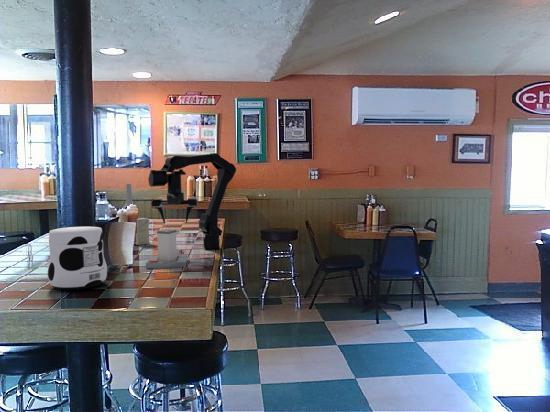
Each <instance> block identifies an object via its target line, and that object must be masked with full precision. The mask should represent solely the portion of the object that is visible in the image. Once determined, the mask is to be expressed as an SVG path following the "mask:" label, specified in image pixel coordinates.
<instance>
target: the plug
mask: <svg viewBox="0 0 550 412" xmlns="http://www.w3.org/2000/svg"><path fill="white" fill-rule="evenodd" d="M156 235H157V237H156V238H157V256H158V261H177V255H178V254H177V253H178V252H177V251H178V250H177V249H178V248H177V245H178V244H177V229H167V228H166V229H161V230H157V231H156Z"/></svg>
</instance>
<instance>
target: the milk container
mask: <svg viewBox="0 0 550 412" xmlns="http://www.w3.org/2000/svg"><path fill="white" fill-rule="evenodd" d="M103 239H104V234H103V229H102V227H99V226H71V227H69V226H68V227H61V228H55V229H51V230H49V232H48V242H49V245H48V248H49V249H48V250H49V263H48V267H47V278H48V279H47V281H48V283H49V285H50V286H51V287H52V288H54V289H58V290H63V291H64V290H65V291H74V290H75V291H76V290H85V289H90V288H93V287H97V286H99V285H101V284H103V283H104V282H105V281H106V279H107V277H108V266H107V262H106V260H105V256H104V240H103Z"/></svg>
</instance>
